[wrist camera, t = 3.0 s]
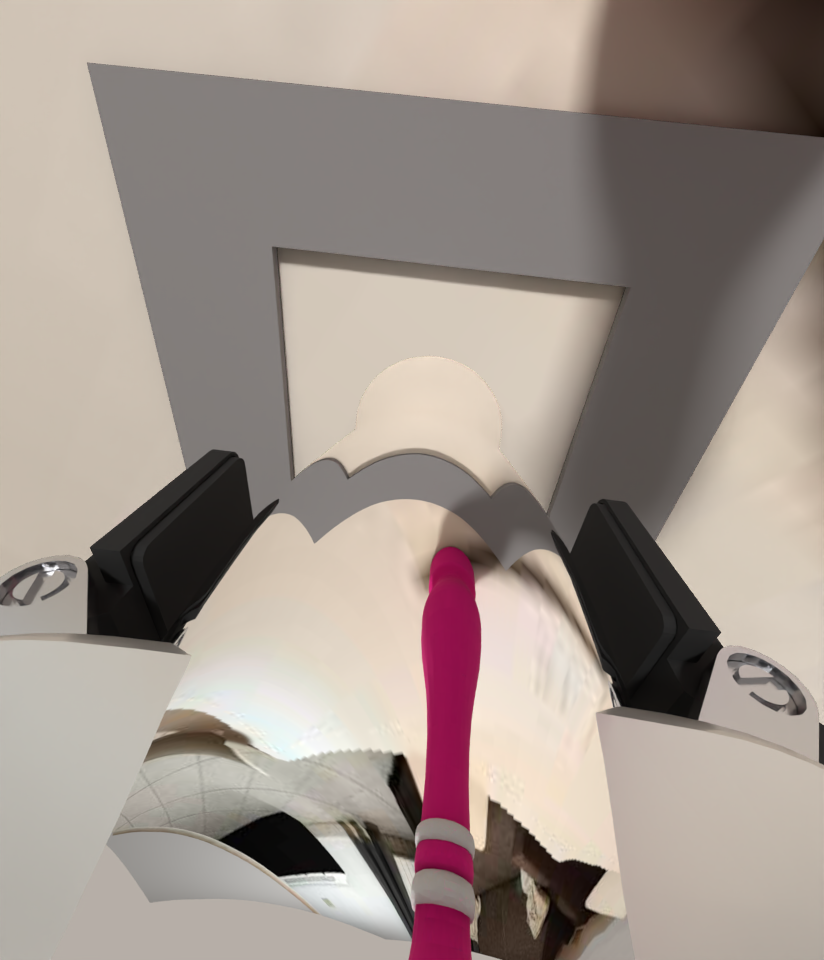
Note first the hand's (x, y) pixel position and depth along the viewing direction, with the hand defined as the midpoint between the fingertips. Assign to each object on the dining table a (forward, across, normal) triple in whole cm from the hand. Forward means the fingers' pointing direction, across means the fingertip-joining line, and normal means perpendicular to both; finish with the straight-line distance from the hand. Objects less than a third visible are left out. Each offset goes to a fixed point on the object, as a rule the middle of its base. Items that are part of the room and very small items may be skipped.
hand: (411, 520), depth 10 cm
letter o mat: (+6, 0, 0) cm, 6 cm away
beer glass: (+7, 0, 0) cm, 7 cm away
